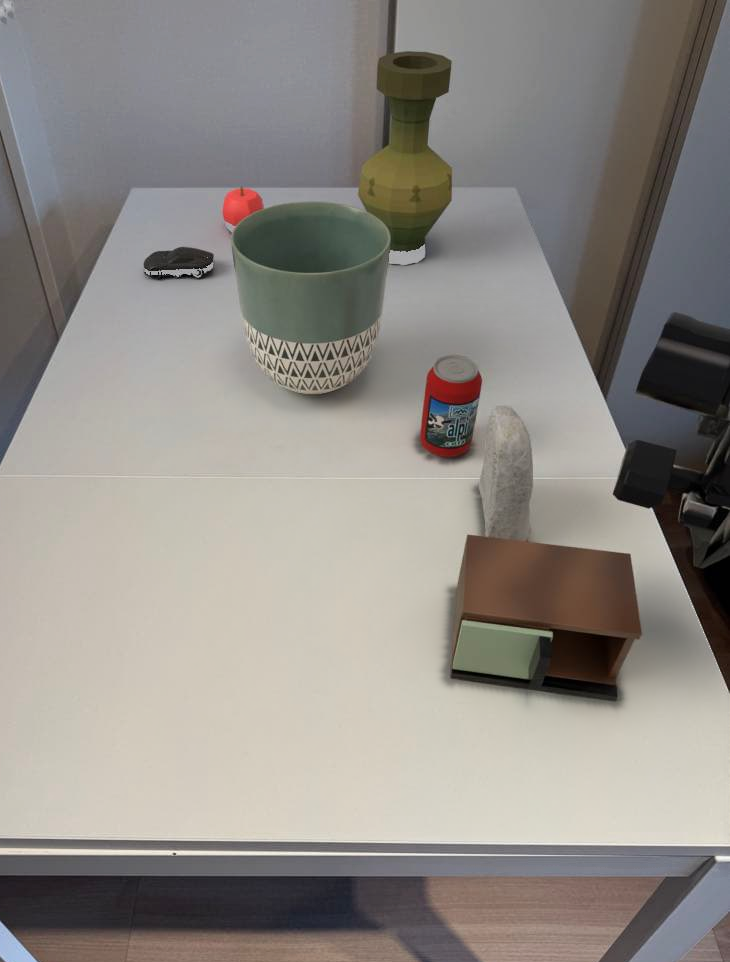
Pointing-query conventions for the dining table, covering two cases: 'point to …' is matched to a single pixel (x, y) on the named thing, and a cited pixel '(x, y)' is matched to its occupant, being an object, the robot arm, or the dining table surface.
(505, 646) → the sliding cabinet door
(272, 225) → the planter
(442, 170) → the vase
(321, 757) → the dining table surface
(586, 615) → the cabinet
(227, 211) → the apple
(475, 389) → the beverage can
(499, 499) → the decorative stone
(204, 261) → the toy car
